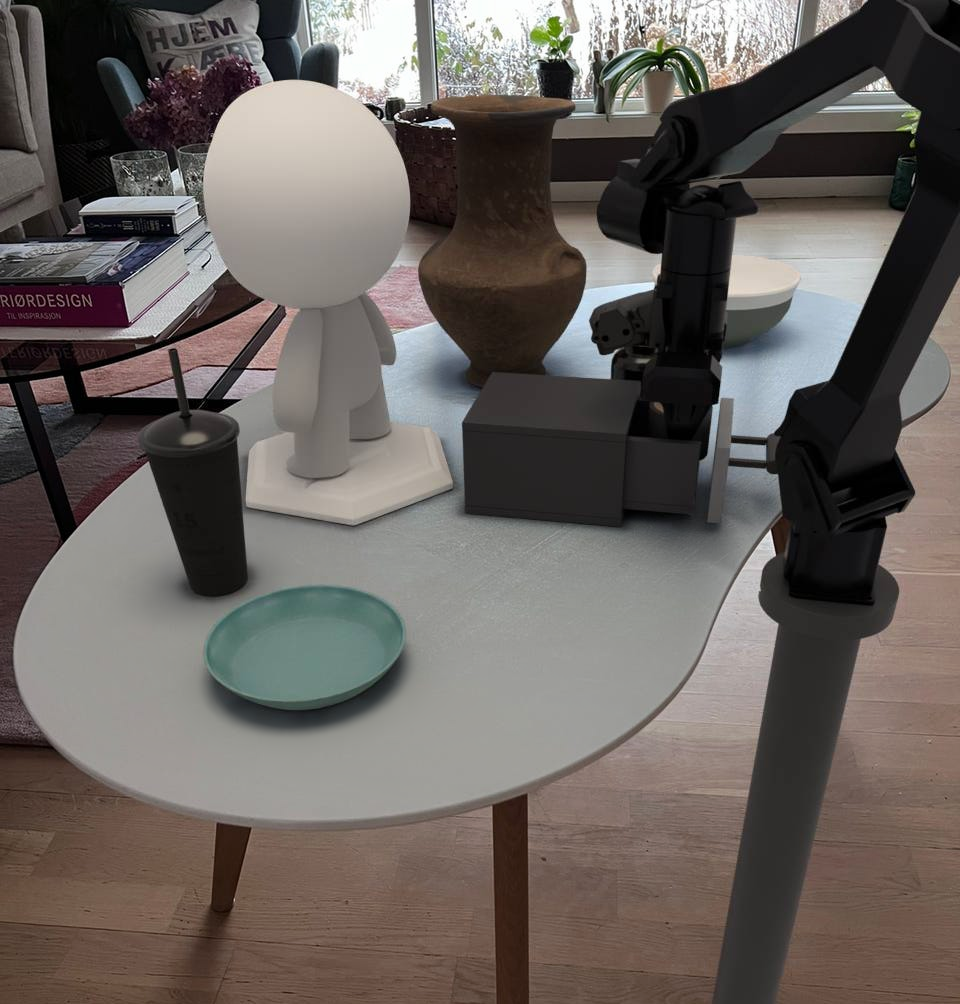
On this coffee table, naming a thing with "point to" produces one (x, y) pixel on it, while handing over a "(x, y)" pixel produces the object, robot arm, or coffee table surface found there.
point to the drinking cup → (200, 490)
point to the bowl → (755, 296)
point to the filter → (659, 429)
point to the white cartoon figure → (321, 296)
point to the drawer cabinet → (548, 448)
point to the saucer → (305, 646)
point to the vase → (503, 239)
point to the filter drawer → (683, 465)
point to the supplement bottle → (631, 362)
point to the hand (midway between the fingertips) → (678, 441)
